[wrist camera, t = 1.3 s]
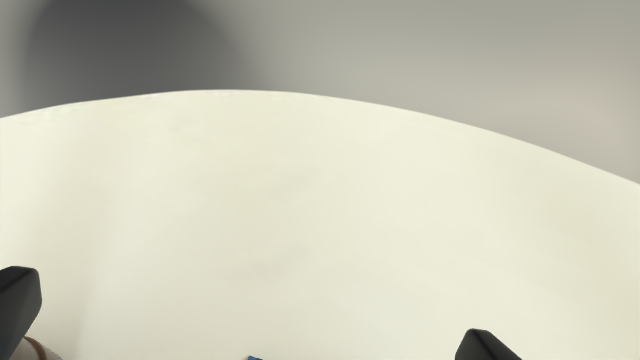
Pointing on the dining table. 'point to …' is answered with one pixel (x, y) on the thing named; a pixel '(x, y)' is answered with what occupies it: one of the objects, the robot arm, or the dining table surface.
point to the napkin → (253, 358)
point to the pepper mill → (32, 351)
